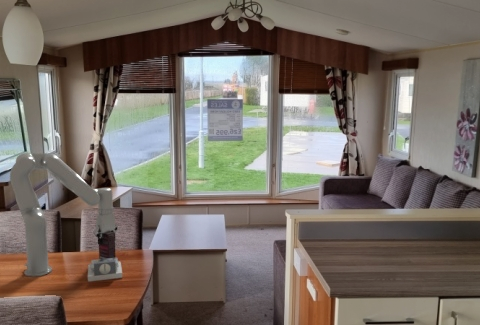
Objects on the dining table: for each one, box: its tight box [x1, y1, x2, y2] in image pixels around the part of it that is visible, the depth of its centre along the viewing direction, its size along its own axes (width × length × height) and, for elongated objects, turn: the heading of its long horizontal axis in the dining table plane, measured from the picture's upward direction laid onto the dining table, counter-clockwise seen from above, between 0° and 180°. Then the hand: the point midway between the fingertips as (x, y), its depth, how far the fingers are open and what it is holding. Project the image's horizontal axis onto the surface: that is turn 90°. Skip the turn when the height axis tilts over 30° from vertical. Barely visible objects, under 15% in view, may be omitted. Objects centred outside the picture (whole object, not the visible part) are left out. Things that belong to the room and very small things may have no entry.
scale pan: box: [90, 257, 119, 270], centre depth 220 cm, size 11×13×1 cm
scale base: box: [87, 260, 123, 282], centre depth 218 cm, size 16×16×8 cm
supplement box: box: [98, 231, 116, 259], centre depth 236 cm, size 9×5×16 cm, turn 55°
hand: (106, 242), depth 236 cm, fingers open, 8 cm apart
